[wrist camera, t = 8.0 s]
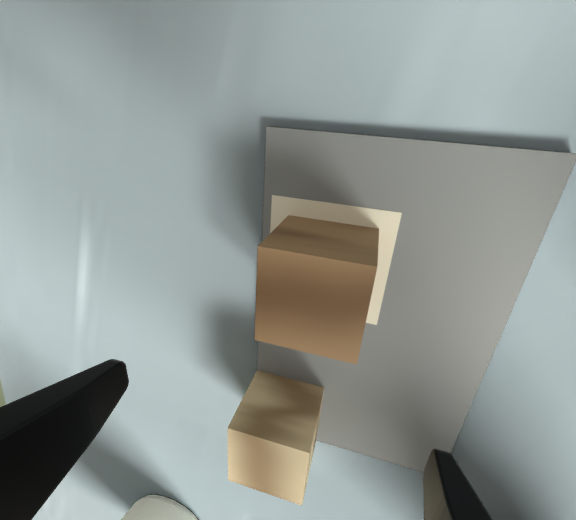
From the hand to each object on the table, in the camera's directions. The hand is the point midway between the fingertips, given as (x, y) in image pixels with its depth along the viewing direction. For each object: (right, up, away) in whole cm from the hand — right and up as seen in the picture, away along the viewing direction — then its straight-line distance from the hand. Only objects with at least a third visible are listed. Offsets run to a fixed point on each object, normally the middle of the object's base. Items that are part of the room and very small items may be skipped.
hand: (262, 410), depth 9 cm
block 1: (+3, +4, +10) cm, 11 cm away
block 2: (+1, -6, +15) cm, 16 cm away
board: (+6, 0, +11) cm, 13 cm away
